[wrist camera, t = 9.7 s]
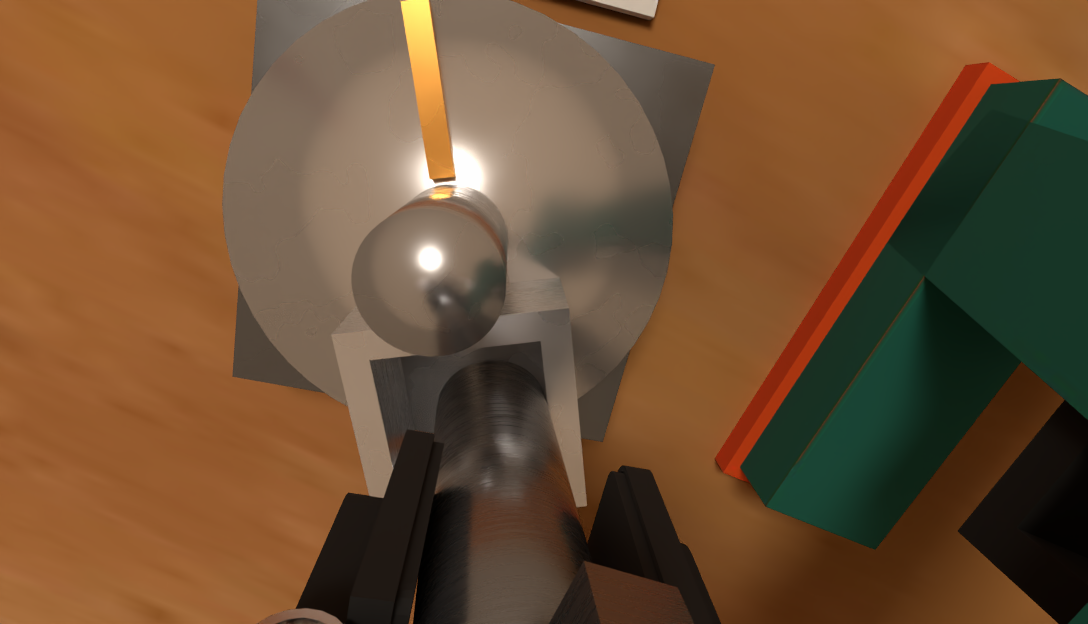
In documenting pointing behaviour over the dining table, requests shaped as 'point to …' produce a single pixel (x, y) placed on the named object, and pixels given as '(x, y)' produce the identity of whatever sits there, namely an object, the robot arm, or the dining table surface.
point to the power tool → (948, 341)
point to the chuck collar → (446, 212)
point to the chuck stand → (651, 74)
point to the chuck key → (516, 519)
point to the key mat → (628, 6)
